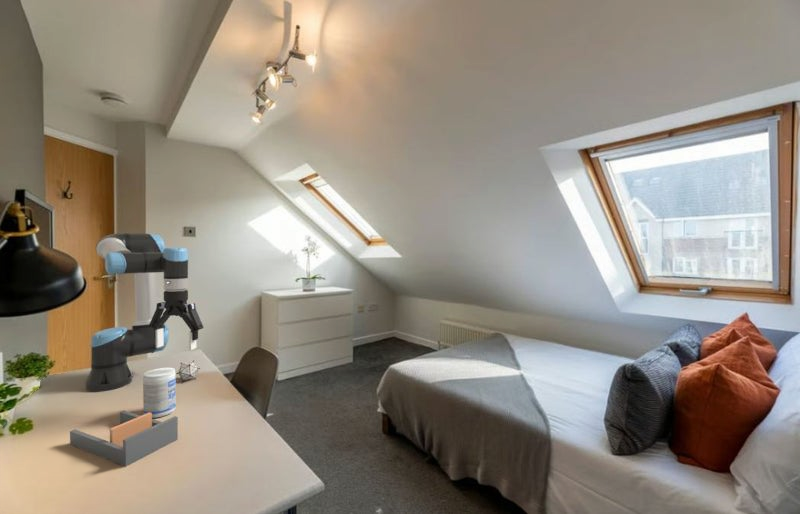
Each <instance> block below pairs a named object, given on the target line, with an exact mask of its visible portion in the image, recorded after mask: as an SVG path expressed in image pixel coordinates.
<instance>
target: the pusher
mask: <svg viewBox="0 0 800 514" xmlns="http://www.w3.org/2000/svg"><path fill="white" fill-rule="evenodd" d="M152 419H153V418H152V413H150V412H149V413H147V414H144V413H143V414H142V415H141V416H140V417H137V418H135V419H132V420H130V421H128V422H125V423H123V424H120V423H119V425H115V426H113V427H111V428H109V442H111V443H114V444H117V445H120V446H122V447H123V440H124V439H126V438H128V437H130V436H133V435H135V434H137V433H139V432H141V431H143V430H146V429H148V428H150V427H152Z"/></svg>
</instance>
